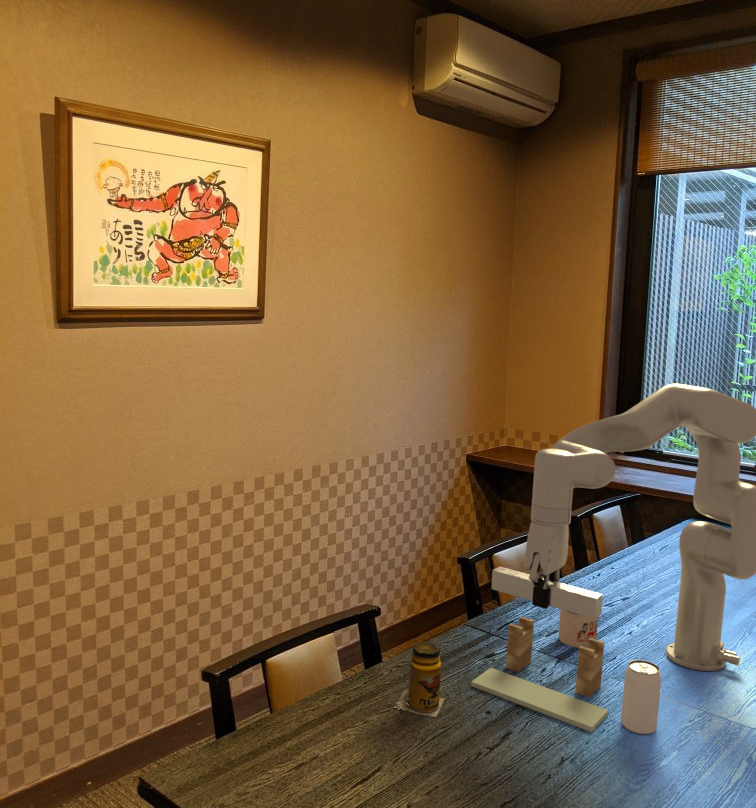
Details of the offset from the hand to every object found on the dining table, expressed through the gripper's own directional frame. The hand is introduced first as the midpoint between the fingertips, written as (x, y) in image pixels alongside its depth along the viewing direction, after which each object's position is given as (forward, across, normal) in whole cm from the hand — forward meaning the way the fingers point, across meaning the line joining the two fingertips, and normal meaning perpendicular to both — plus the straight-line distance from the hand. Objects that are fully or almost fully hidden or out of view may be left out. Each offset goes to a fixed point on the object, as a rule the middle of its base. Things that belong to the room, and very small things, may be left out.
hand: (544, 603), depth 156 cm
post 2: (+20, -11, +6) cm, 24 cm away
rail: (0, 0, 0) cm, 0 cm away
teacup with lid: (+21, -33, -5) cm, 39 cm away
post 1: (+20, -11, -10) cm, 25 cm away
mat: (+20, 0, 0) cm, 20 cm away
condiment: (+21, +17, -17) cm, 32 cm away
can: (+21, -4, +19) cm, 28 cm away
